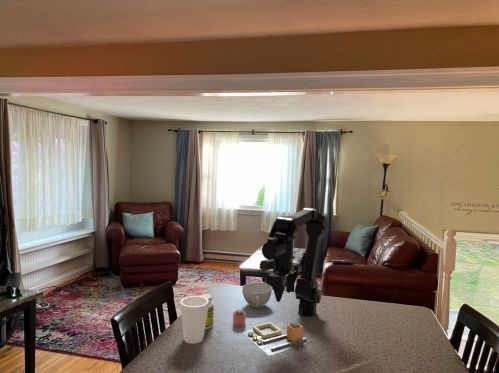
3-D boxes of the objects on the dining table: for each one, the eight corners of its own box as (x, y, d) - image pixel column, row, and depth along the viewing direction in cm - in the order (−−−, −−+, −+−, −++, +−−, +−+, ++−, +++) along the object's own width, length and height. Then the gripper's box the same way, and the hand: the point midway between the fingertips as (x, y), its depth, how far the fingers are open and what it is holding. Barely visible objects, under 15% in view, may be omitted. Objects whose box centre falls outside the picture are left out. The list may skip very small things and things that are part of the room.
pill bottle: (210, 330, 124) (210, 300, 123) (193, 328, 125) (194, 298, 125) (215, 323, 130) (216, 294, 130) (199, 321, 132) (200, 292, 131)
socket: (269, 325, 128) (269, 322, 128) (281, 333, 122) (281, 330, 122) (253, 329, 124) (253, 326, 124) (264, 338, 118) (264, 335, 118)
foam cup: (212, 335, 121) (213, 298, 120) (200, 348, 112) (201, 309, 112) (188, 330, 124) (188, 294, 123) (174, 342, 116) (174, 304, 115)
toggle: (295, 335, 121) (296, 320, 121) (302, 339, 118) (303, 324, 118) (286, 337, 119) (287, 323, 119) (292, 342, 116) (293, 327, 116)
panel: (283, 323, 132) (283, 319, 132) (313, 344, 117) (313, 339, 117) (241, 334, 123) (241, 329, 123) (268, 358, 108) (268, 353, 108)
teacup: (241, 299, 154) (242, 281, 153) (270, 300, 154) (271, 282, 153) (241, 314, 139) (241, 294, 138) (272, 315, 139) (273, 295, 138)
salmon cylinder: (241, 322, 131) (241, 308, 131) (247, 327, 128) (247, 312, 127) (230, 325, 129) (231, 310, 129) (236, 330, 125) (237, 315, 125)
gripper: (274, 244, 133) (273, 284, 135) (251, 256, 117) (250, 301, 118) (302, 248, 128) (300, 289, 130) (282, 261, 112) (281, 308, 113)
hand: (283, 296), depth 123 cm, fingers open, 9 cm apart
